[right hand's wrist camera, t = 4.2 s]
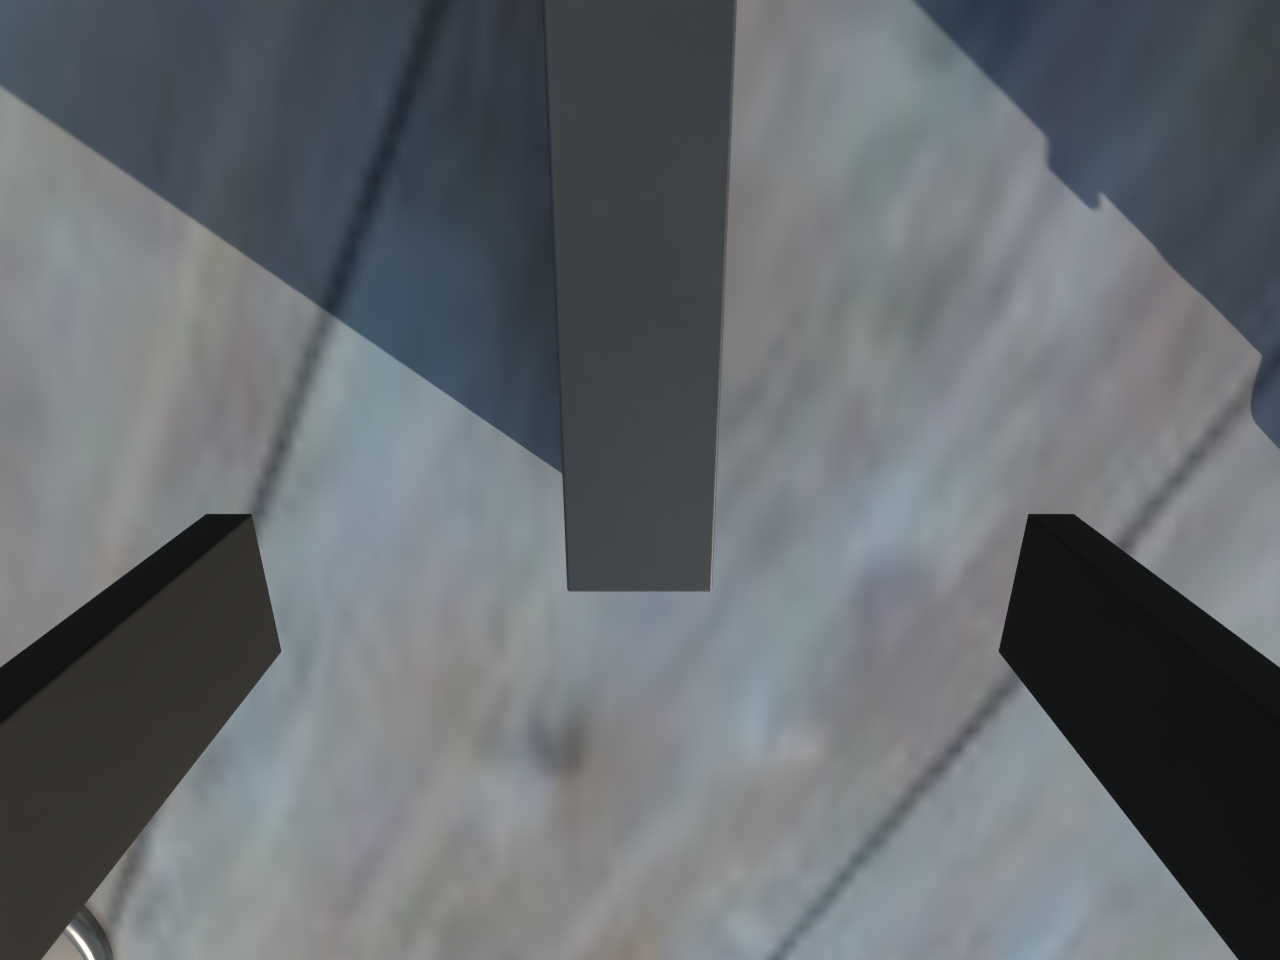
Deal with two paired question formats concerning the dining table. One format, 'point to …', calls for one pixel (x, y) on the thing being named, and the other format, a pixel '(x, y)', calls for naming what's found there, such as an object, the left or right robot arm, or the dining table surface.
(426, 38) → the dining table surface
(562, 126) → the beam
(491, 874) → the dining table surface
